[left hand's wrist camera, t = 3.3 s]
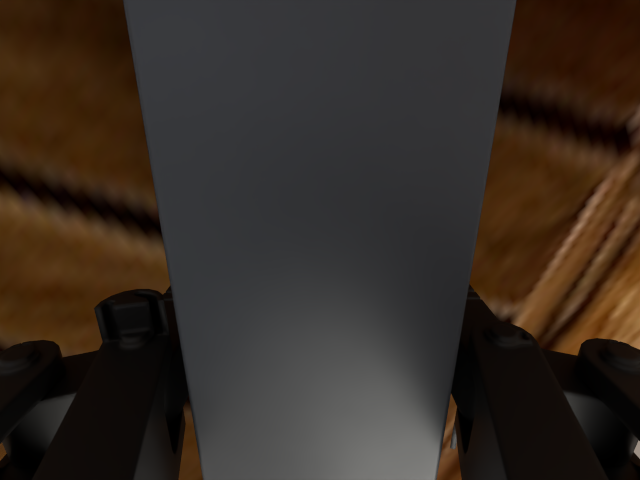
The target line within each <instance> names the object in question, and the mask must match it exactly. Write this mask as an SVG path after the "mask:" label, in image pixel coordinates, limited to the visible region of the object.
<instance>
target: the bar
mask: <svg viewBox="0 0 640 480" xmlns="http://www.w3.org/2000/svg"><path fill="white" fill-rule="evenodd" d="M123 2H124V8H125V14H126V20H127V26H128V32H129V38H130V44H131V50H132V56H133V62H134V68H135V74H136V80H137V86H138V92H139V98H140V104H141V110H142V116H143V122H144V128H145V134H146V140H147V146H148V152H149V158H150V164H151V170H152V176H153V182H154V188H155V194H156V200H157V206H158V212H159V218H160V224H161V230H162V236H163V242H164V248H165V254H166V260H167V266H168V272H169V278H170V284H171V290H172V296H173V302H174V308H175V314H176V320H177V326H178V332H179V338H180V344H181V350H182V356H183V362H184V368H185V374H186V380H187V386H188V392H189V398H190V404H191V410H192V416H193V422H194V428H195V434H196V440H197V446H198V452H199V458H200V464H201V470H202V476H203V480H436V479H437V473H438V467H439V461H440V455H441V449H442V443H443V437H444V431H445V425H446V419H447V413H448V407H449V401H450V395H451V389H452V383H453V377H454V371H455V365H456V359H457V353H458V347H459V341H460V335H461V329H462V323H463V317H464V311H465V305H466V299H467V293H468V287H469V281H470V275H471V269H472V263H473V257H474V251H475V245H476V239H477V233H478V227H479V221H480V215H481V209H482V203H483V197H484V191H485V185H486V179H487V173H488V167H489V161H490V155H491V149H492V143H493V137H494V131H495V125H496V119H497V113H498V107H499V101H500V95H501V89H502V83H503V77H504V71H505V65H506V59H507V53H508V47H509V41H510V35H511V29H512V23H513V17H514V11H515V5H516V0H123Z"/></svg>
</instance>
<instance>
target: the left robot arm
mask: <svg viewBox="0 0 640 480" xmlns="http://www.w3.org/2000/svg"><path fill="white" fill-rule="evenodd" d="M94 310H95V314H96V318H97V321H98V325H99V329H100V333H101V337H102V341H103V343H102V345H101V347H100V349H99V350H97V351H93V352H88V353H83V354H78V355H73V356H68V357H62V354H61V351H60V348H59V346H58V345H57V344H56V343H55V342H53V341H46V340H39V341H28V342H24V343H22V344H21V343H20V344H17V345H13V346H11V347H10V348H8V349H6V350H3V351H1V352H0V443H1V442H2V443H3V446H4V448H5V450H6V452H7V454H6V455H5V456H4V457H3V459H2V460H1V461H0V480H178V478H179V470H180V462H181V455H182V447H183V439H184V432H185V416H184V411H183V406H184V404H185V402H186V400H187V397H188V395H189V392H188V386H187V380H186V374H185V368H184V362H183V356H182V350H181V344H180V338H179V332H178V326H177V320H176V314H175V308H174V302H173V296H172V290H171V286H170V287H169V288H168V289H167V291H166V293H164V294H163V295H162V294H161V293H160V292H158V291H155V290H151V289H135V290H130V291H125V292H121V293H118V294H115V295H113V296H110V297H108V298H107V299H105V300H103V301H101V302H100V303H99V304H98V305H97V306H96V307H95V308H94ZM451 394H452V396H453V398H454V400H455V403H456V405H457V411H456V416H455V422H454V428H453V433H452V439H451V446H450V448H452V449H455V448H456V442H457V446H458V454H459V461H460V469H461V477H462V480H640V459H639V458H638V457H637V455H636V454H635V453H634V449H635V447H636V445H637V442H638V440H639V441H640V350H639V349H637V348H634V347H632V346H630V345H629V344H626V343H623V342H618V341H616V340H611V339H599V338H596V339H589V340H586V341H585V342H583V343H582V344H581V347H580V350H579V353H578V356H576V355H571V354H565V353H560V352H555V351H550V350H546V349H542V348H540V346H539V344H538V342H537V341H536V340H535V339H534V337H533V336H532V335H531V334H530V333H528V332H527V331H525V330H524V329H522V328H520V327H518V326H515V325H513V324H510V323H507V322H502V321H499V320H498V319H497V318H496V316H495V315H494V314H493V313H492V312H491V310H490V309H489V308H488V307H487V305H486V304H485V303H484V302H483V300H480V297H479V295H478V294H477V293H476V292H474V289H473V288H472V287H471V286H470V284H469V287H468V293H467V299H466V305H465V311H464V317H463V323H462V329H461V335H460V341H459V347H458V353H457V359H456V365H455V371H454V377H453V383H452V389H451Z"/></svg>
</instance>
